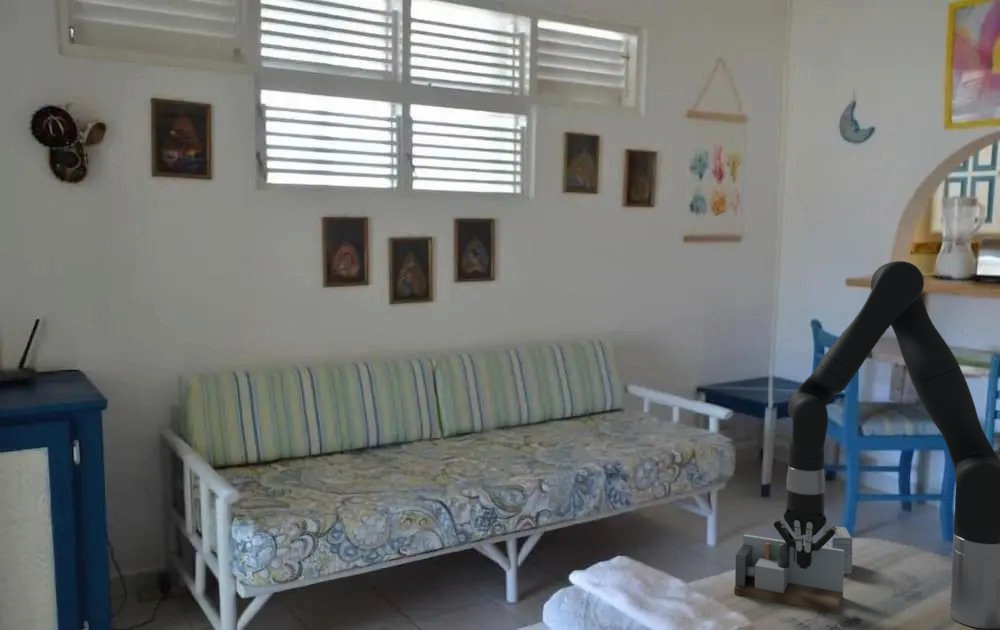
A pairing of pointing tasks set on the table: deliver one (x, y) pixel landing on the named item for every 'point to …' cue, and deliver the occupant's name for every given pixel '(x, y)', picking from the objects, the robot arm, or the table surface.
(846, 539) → the medicine box
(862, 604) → the table surface
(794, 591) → the base
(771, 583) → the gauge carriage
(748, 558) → the textured charcoal block
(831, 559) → the board
